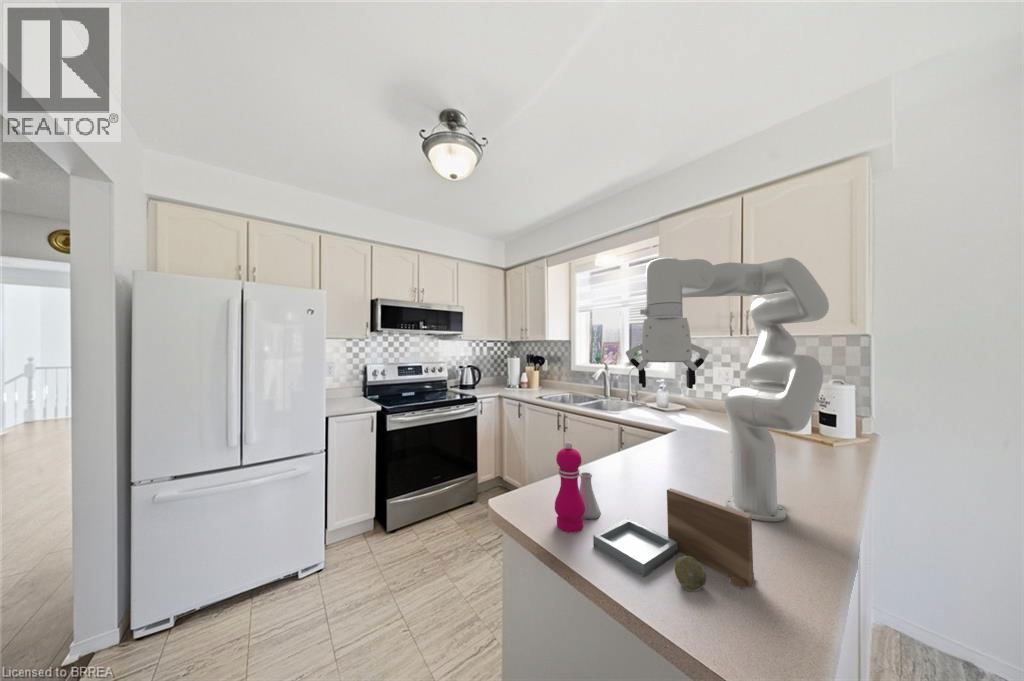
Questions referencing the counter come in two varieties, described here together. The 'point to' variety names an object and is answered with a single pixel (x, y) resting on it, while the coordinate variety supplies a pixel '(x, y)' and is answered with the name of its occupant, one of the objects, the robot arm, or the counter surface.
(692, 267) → the robot arm
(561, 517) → the pepper mill
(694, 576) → the lime
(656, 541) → the slate dish
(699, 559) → the walnut board
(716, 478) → the counter surface
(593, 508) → the flask
